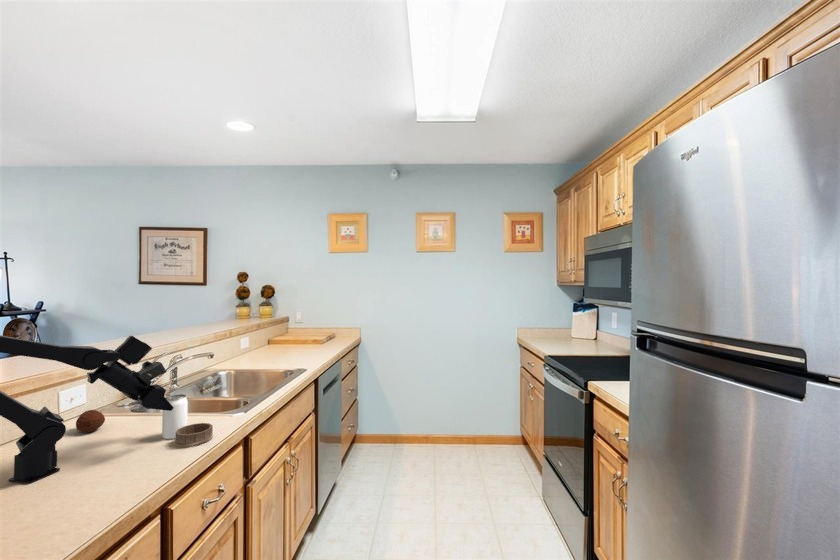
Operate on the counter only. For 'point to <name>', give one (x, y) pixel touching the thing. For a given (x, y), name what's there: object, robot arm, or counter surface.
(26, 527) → the counter surface
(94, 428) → the potato
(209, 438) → the holder
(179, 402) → the can
